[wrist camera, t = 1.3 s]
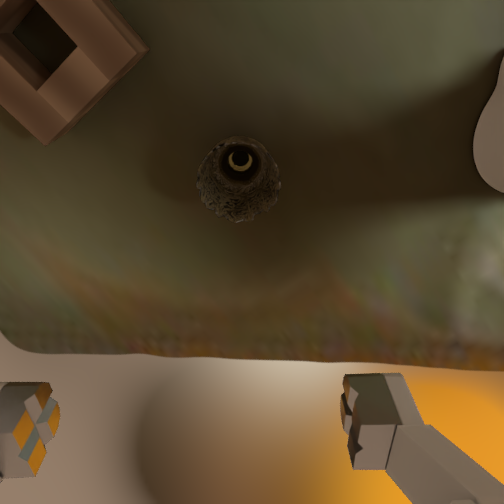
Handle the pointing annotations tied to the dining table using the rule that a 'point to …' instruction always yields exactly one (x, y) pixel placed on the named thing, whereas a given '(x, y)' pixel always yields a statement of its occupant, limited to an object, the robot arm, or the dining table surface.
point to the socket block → (64, 64)
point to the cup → (238, 180)
